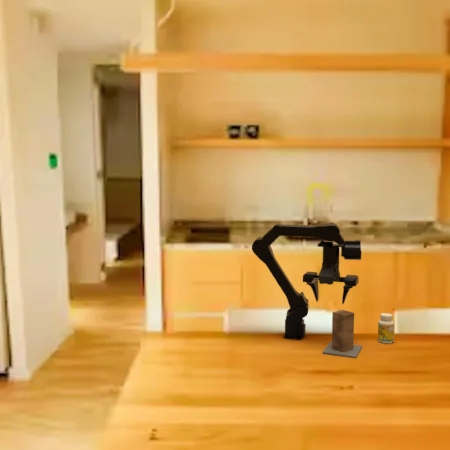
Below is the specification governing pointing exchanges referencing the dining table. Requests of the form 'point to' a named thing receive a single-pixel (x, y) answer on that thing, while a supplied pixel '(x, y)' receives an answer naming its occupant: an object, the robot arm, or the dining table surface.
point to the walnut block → (342, 330)
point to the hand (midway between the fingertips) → (330, 302)
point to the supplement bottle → (386, 328)
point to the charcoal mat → (349, 353)
